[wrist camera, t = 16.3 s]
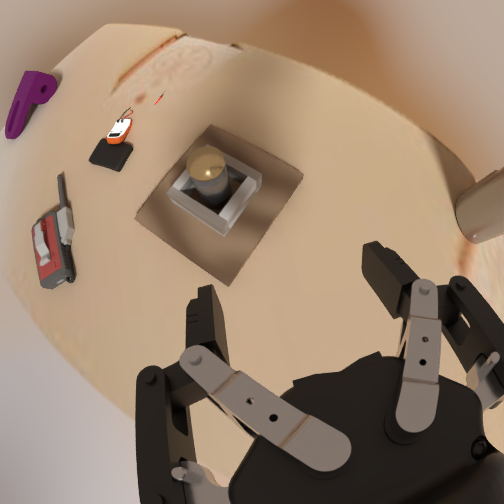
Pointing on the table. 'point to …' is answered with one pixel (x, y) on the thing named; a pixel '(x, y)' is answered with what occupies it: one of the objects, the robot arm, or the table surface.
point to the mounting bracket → (28, 99)
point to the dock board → (228, 218)
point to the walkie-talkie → (54, 244)
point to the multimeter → (114, 146)
